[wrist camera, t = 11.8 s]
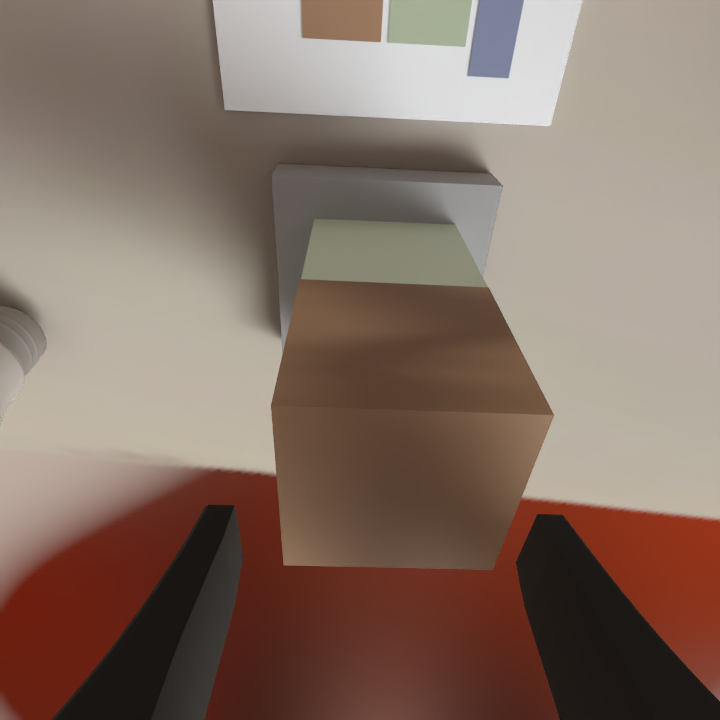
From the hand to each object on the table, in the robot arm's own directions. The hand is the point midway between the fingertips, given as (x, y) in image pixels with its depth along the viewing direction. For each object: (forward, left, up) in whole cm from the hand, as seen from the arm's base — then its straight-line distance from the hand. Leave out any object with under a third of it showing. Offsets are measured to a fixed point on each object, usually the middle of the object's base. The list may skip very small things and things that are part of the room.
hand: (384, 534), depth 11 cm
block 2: (0, -3, -3) cm, 4 cm away
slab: (0, -3, -9) cm, 10 cm away
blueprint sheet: (0, -11, -9) cm, 14 cm away
